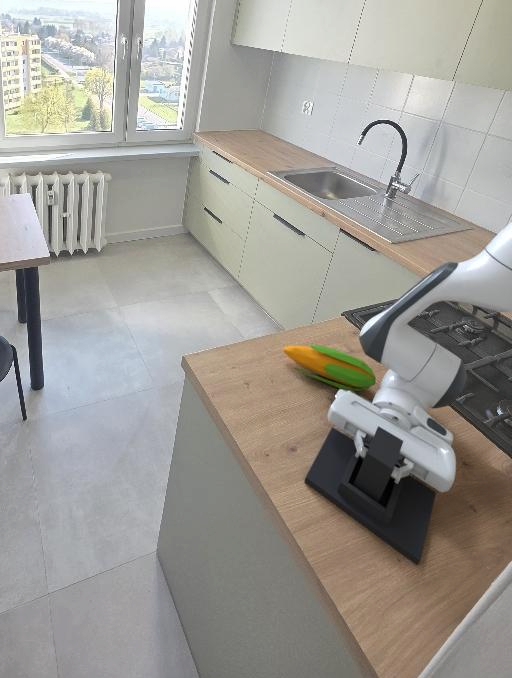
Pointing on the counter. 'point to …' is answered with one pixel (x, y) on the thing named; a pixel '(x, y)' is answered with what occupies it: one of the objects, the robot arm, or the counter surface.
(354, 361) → the corn
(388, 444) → the upright pad
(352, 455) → the base pad
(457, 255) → the counter surface
